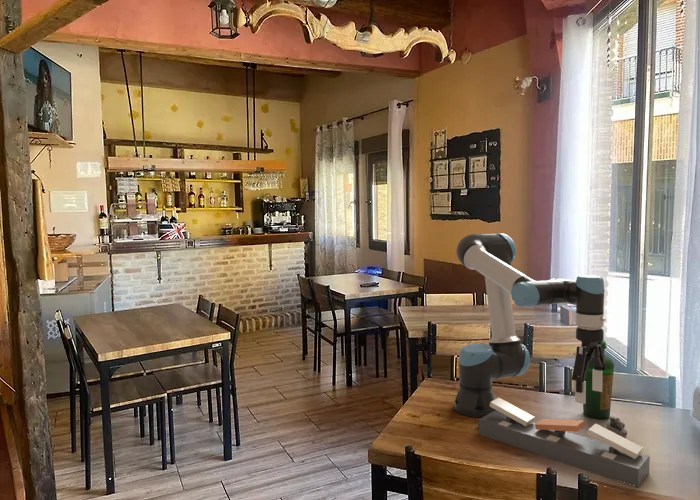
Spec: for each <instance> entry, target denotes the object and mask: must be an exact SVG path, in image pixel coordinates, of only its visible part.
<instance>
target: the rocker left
mask: <svg viewBox="0 0 700 500" xmlns="http://www.w3.org/2000/svg"><path fill="white" fill-rule="evenodd" d="M490 407H492V408H494V409H495V410H497V412H501V413H503V414H504V415H506V416H508V417H510V418H512V419H513V420H515V421H517V422H519V423H521V424H522V425H524V426H527V425H529V424H530V423H532V422H534V421H535V418H536V417H535V415H532V414H530V413H528V412H527V411H525V410H524V409H521V408H519V407H517V406H515V404H512V403H510V402H508V401H506V400H504V399H502V398H500V397H497V398H495V400H493V401H491V402H490Z"/></svg>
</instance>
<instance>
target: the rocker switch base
mask: <svg viewBox="0 0 700 500" xmlns="http://www.w3.org/2000/svg"><path fill="white" fill-rule="evenodd" d="M536 423H537V422H534V421H533V422H532V423H530V424H529V425H527V426H524V425H522V424H521V423H519V422H517V421H515V420H513V419H512V418H510V417H508V416H506V415H504V414H503V413H501V412H499V411H493V412H491V413H490V414H488V415H486V416H484V417H480V418H479V419H478V422H477V426H478V435H479V436H482V437H486V438H489V439H492V440H495V441H497V442H500V443H503V444H507V445H509V446H512V447H515V448H518V449H522V450H524V451H527V452H530V453H533V454H536V455H539V456H542V457H546V458H548V459H552V460H554V461H557V462H560V463H563V464H566V465H569V466H572V467H575V468H579V469H581V470H584V471H587V472H590V473H593V474H596V475H599V476H602V477H605V478H608V479H611V480H614V479H615V480H614V481H617V480H619V481H618V482H620V481H622V482H621V483H623V482H625V483H624V484H626V483H628V484H627V485H629V484H631V485H630V486H632V485H635V486H637V487H636V488H639V487H640V486H641V485H642V483H643V482H644V481H643V480H645V479H646V478H647V477H648V475H649V474H650V459H651V457H650V455H648V454H645V453H643V452H641V454H640V455H639V456H638V457H637V458H636V459H634V458H632V457H630V456H628V455H626V454H624V453H622V452H620V451H619V450H617V449H615V448H613V447H611V446H609V445H607V444H605V443H603V442H601V441H599V440H597V439H595V438H589V437H587V436H583V435H580V434H575V433H572V432H570V431H556V430H536V427H535V424H536ZM646 476H647V477H646ZM642 481H643V482H642ZM641 482H642V483H641ZM639 485H640V486H639ZM635 486H634V487H635ZM638 486H639V487H638Z"/></svg>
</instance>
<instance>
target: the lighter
mask: <svg viewBox="0 0 700 500" xmlns="http://www.w3.org/2000/svg"><path fill="white" fill-rule="evenodd" d="M605 425H606V429H608V430H610V431H612V432H614V433H616V434H618V435H620V436H622V437H623V438H625V439H627V435H628V430H627V429H625V427H626V425H625V422H623V421H621V420H620V418H619V417H616V416H612V415H611V416H610V417H609V421H606V423H605Z"/></svg>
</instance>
